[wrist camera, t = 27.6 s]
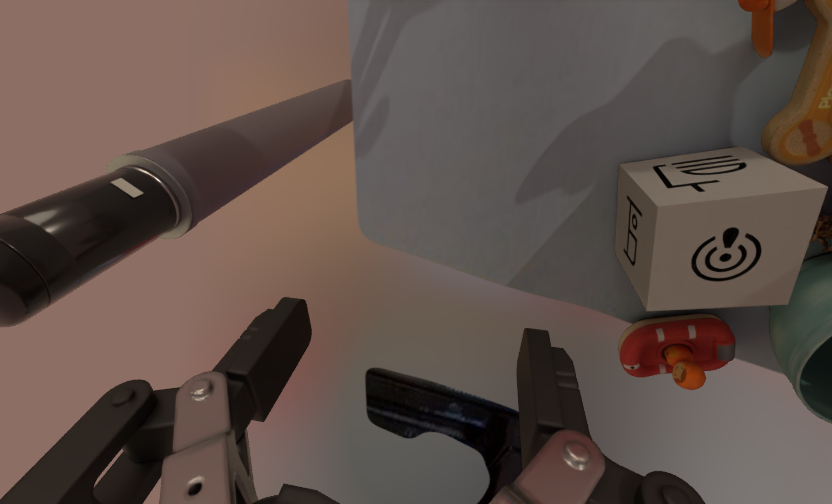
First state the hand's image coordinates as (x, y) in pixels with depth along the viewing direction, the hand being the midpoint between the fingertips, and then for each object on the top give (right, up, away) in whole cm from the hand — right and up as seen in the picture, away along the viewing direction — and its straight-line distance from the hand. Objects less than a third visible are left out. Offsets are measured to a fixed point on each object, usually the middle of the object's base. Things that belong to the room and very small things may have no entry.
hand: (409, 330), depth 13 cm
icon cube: (+26, +8, +23) cm, 36 cm away
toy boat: (+31, -7, +32) cm, 45 cm away
